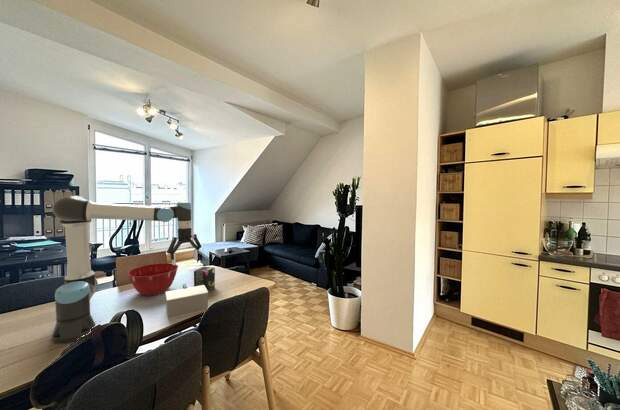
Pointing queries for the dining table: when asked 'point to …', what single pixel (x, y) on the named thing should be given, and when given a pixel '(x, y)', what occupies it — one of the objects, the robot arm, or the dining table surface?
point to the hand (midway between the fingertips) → (185, 262)
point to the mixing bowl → (153, 278)
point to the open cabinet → (186, 305)
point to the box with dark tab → (185, 292)
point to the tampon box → (205, 277)
